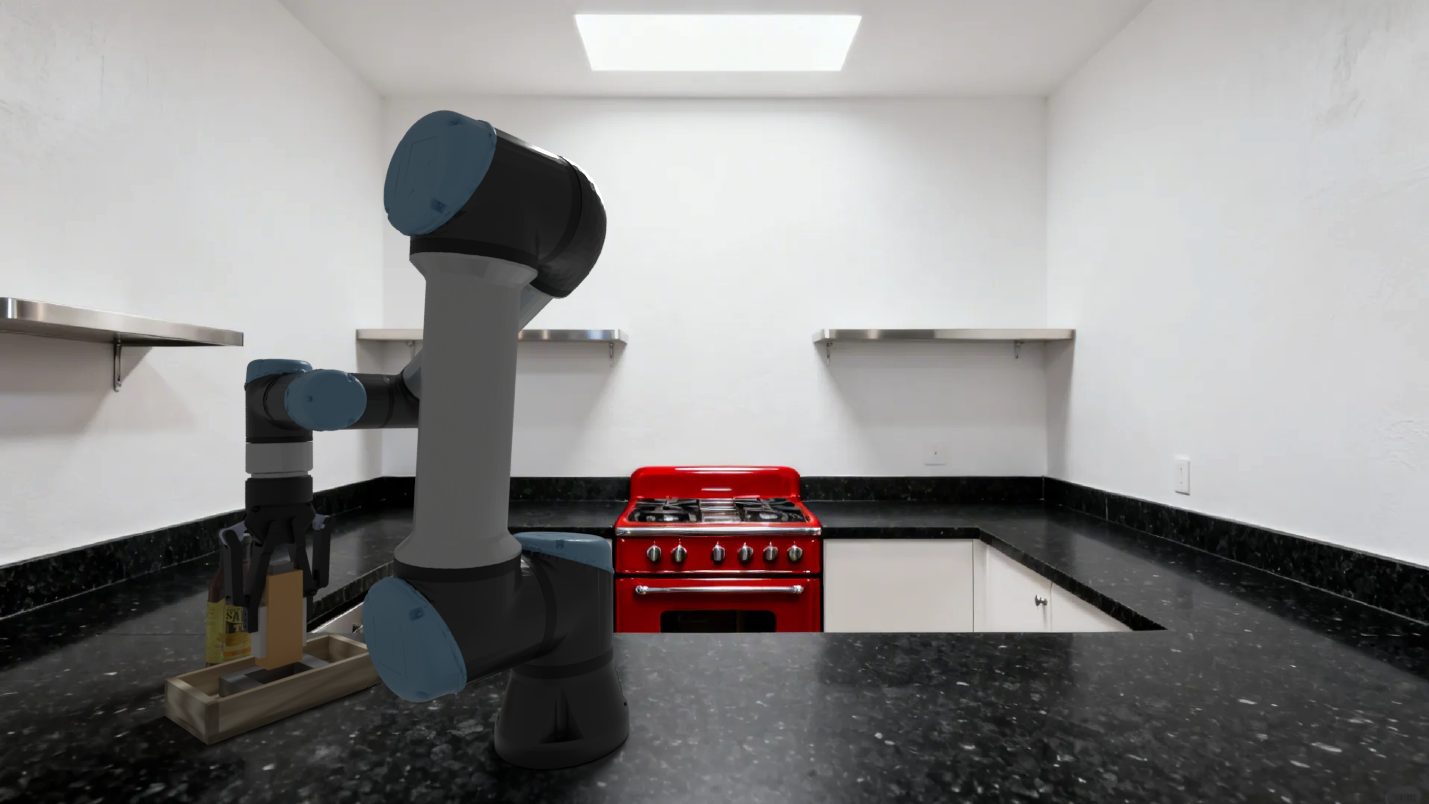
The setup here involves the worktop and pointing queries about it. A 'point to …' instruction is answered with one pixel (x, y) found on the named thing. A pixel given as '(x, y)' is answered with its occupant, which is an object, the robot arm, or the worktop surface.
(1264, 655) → the worktop surface
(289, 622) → the tan tall block
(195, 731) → the walled box
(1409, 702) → the worktop surface
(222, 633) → the sauce bottle
